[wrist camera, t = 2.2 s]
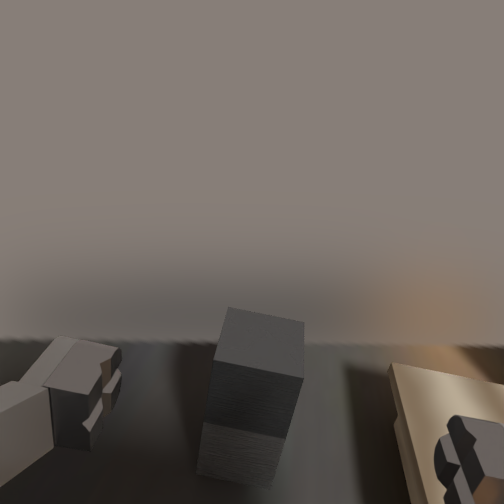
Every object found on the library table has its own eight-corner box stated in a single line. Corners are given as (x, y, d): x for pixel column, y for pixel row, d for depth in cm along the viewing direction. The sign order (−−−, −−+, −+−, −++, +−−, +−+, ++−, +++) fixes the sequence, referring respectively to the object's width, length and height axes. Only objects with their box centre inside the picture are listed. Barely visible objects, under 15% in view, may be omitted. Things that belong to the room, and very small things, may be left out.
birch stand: (404, 587, 24) (437, 538, 21) (372, 406, 35) (391, 362, 33) (636, 637, 23) (696, 593, 21) (527, 438, 35) (557, 396, 32)
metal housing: (195, 473, 28) (213, 359, 23) (210, 413, 32) (228, 307, 27) (270, 489, 27) (303, 378, 23) (275, 426, 32) (304, 322, 27)
